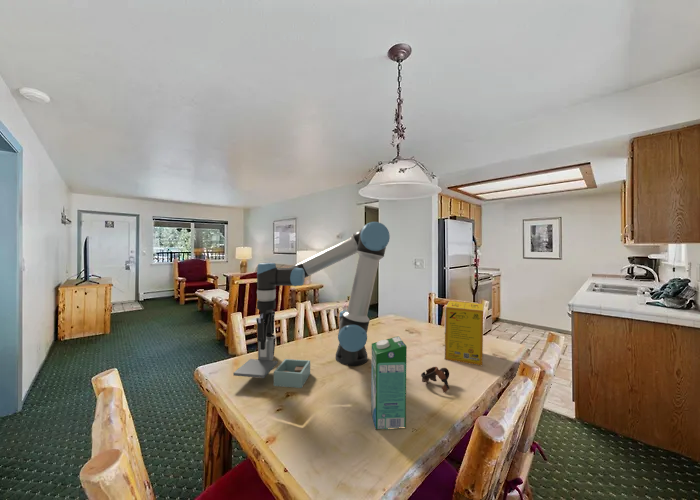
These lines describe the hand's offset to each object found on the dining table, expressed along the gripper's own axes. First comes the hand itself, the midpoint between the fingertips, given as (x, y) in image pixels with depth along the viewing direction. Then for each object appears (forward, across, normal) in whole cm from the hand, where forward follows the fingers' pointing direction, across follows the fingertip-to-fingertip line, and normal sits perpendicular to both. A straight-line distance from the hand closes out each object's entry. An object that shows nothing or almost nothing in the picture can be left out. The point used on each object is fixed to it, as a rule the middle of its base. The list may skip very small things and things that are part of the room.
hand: (265, 354), depth 121 cm
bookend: (+3, +6, 0) cm, 7 cm away
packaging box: (+7, -30, +88) cm, 94 cm away
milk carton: (+8, +26, +51) cm, 58 cm away
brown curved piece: (+8, +1, +70) cm, 71 cm away
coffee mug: (+8, -16, -6) cm, 18 cm away
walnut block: (+7, +3, +16) cm, 17 cm away
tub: (+8, +6, +14) cm, 17 cm away
